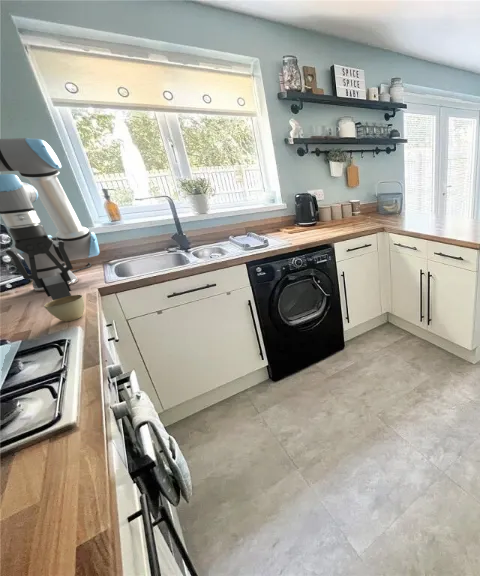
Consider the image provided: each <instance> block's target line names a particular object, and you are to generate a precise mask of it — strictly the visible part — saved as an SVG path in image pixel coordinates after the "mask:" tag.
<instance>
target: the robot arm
mask: <svg viewBox="0 0 480 576" xmlns="http://www.w3.org/2000/svg"><path fill="white" fill-rule="evenodd" d="M60 169H62V164H61V162H60V160H59V158H58V156H57V154H56V152H55V151H54V150H53V148H52V147H51V146H50V145H49V144H48V143H47V142H46V141H45V140H44V139H42V138H29V137H18V138H0V172H1V174H0V217H1V219H2V220H3V222H4V224H5V226H6V227H7V228H9V229H8V232H9V234H10V235H11V237H12V239H13V241H14V246H12V247H11V248H7V249H6V250H5V254H7V255H8V256H9V257H10V258H11V259H12V260H13V262H14V264H15V266H16V267H17V269H18V271H19V273H20V275H21V276H22V278H23V279H24V280H32V288H33V290H34V291H35V292H45V294H46V296H47V297H48V298H49V297H51V296H50V294H49V292H48V290H47V288H46V286H45V284H44V281H43V278H48V277H52V276H57V275H60V276H61V277H62V279H63V280H64V282H65V284H66V286H67V288H68V290H69V292H72V289H71V287H70V286H71V285H73V284H75V283H78V282H79V279H78V277H77V275H75V272H79V271H82V270H85V269H88V268H91V267H92V263H91V262H87V263H88V264H87V266H85V267H84V266H83V267H81V268H78V269H74V270H73V265H72V262H71V261H76V260H82V259H90V258H92V257H98V256H99V254H100V247H99V246H100V245H99V242H98V238H97V235H96V233H95V232H94V231H90V229H88V228H87V227H85V226H83V225H82V223H81V221H80V220H79V217H78V215H77V213H76V211H75V210H74V208H73V207H74V206H73V205H72V204H71V201H70V200H69V198H68V196H67V194H66V191H65V190H64V188H63V186H62V184H61V182H60V180H59V178H58V175H60ZM2 172H18V173H19V174H20V176H21V177H22V178H24V179H27V180H28V181H29V182H30V184H29V183H27V182H24V181H21V179H20V177H19V176H18V175H17V174H14V173H2ZM38 199H39V200H40V202H41V204H42V206H43V207H44V209H45V211H46V212H47V214H48V216H49V217H50V219H51V221H52V223H53V225H54V226H55V228H56V230H57V232H56V233H55V237H53V235H51V234H48V233H47V231H46V229H45V227H44V226H43V225H42V224H40V223H41V219H40V217H39V215H38V213H37V211H36V209H35V208H34V206H33V204H34V203H35V202H37V200H38ZM18 250H19V252H20V254H21V257H22V258H23V260H24V262H25V264H26V265H27V267H28V270H29V271H30V273H31V274H29V273H28V272H27V270H26V269H25V266H24V265H23V263H22V261H21V260H20V258H19V256H18V254H19V252H18Z"/></svg>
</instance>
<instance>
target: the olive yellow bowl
mask: <svg viewBox="0 0 480 576" xmlns="http://www.w3.org/2000/svg"><path fill="white" fill-rule="evenodd" d="M43 307H44V309H45V310H46V311H47V312H48V313H50V315H52V316H54V318H56V319H58V320H60V321H62V322H67V323H68V322H73V321H76V320H78V319H80V318H82V317H83V315H84V310H85V300H84V296H83V295H82V294H71V296H67V297H63V298H60V299H56V300H50V301H48V302H46V303H45V304H44V305H43Z"/></svg>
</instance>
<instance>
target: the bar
mask: <svg viewBox="0 0 480 576" xmlns="http://www.w3.org/2000/svg"><path fill="white" fill-rule="evenodd" d="M43 281H44V284H45V286H46V288H47V290H48V292H49V294H50V296H49V297H50V298H51V299H52V300H51V301H53V300H56V299H60V298H63V297H67V296H71V295H72V294H71V291H69V290H68V288H67V286H66V284H65V282H64V280H63V279H62V277H61V276H60V275H57V276H52V277H48V278H43Z"/></svg>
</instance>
